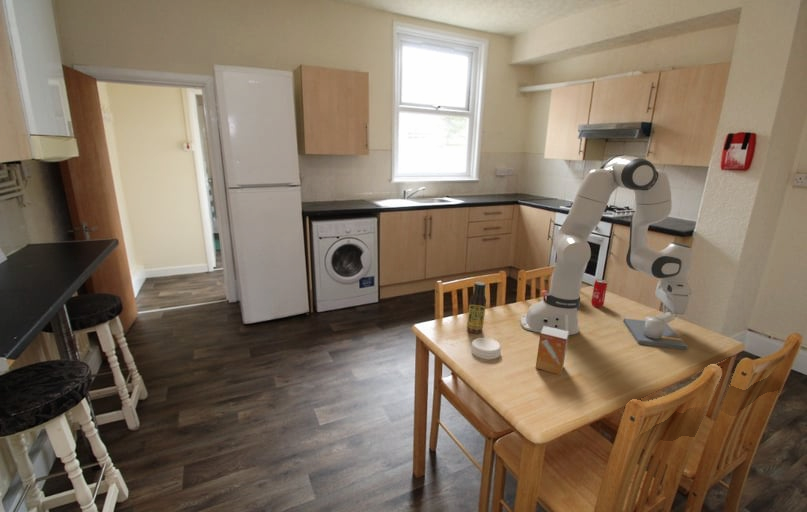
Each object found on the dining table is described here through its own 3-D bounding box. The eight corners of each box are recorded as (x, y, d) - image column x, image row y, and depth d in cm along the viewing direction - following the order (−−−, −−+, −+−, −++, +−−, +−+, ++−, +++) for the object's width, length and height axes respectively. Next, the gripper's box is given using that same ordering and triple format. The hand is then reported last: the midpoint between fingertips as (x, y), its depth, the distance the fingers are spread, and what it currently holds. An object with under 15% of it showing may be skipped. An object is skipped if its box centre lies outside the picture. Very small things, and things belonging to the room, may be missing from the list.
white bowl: (504, 350, 137) (505, 342, 136) (494, 363, 129) (495, 353, 128) (477, 343, 143) (478, 334, 142) (466, 354, 135) (467, 345, 134)
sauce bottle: (466, 332, 150) (469, 284, 144) (467, 325, 156) (470, 279, 150) (483, 335, 148) (487, 286, 143) (483, 327, 154) (487, 281, 149)
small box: (535, 368, 126) (539, 332, 123) (538, 359, 132) (543, 325, 128) (561, 375, 123) (567, 339, 119) (563, 366, 128) (569, 330, 124)
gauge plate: (637, 343, 144) (638, 339, 144) (623, 321, 163) (623, 317, 162) (686, 350, 140) (687, 345, 140) (665, 326, 159) (666, 322, 159)
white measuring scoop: (656, 340, 143) (660, 324, 141) (640, 333, 148) (643, 318, 146) (678, 329, 152) (681, 314, 150) (661, 324, 157) (665, 309, 155)
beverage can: (604, 308, 176) (608, 283, 173) (592, 306, 177) (596, 282, 174) (601, 303, 181) (605, 279, 178) (589, 302, 182) (593, 278, 179)
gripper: (654, 274, 162) (648, 304, 166) (674, 291, 143) (667, 325, 147) (671, 275, 161) (664, 306, 164) (694, 293, 142) (686, 327, 145)
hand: (666, 315), depth 155 cm, fingers closed
